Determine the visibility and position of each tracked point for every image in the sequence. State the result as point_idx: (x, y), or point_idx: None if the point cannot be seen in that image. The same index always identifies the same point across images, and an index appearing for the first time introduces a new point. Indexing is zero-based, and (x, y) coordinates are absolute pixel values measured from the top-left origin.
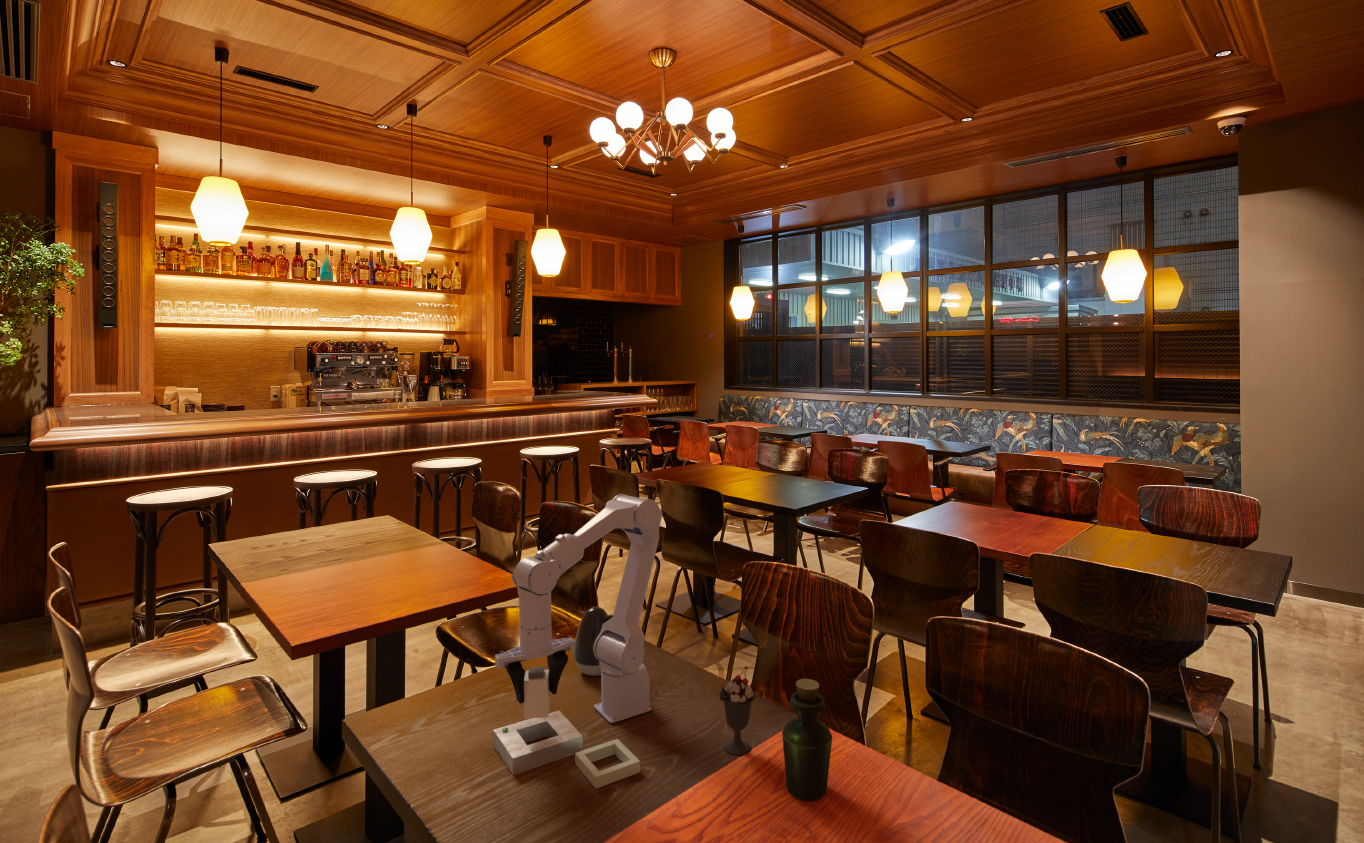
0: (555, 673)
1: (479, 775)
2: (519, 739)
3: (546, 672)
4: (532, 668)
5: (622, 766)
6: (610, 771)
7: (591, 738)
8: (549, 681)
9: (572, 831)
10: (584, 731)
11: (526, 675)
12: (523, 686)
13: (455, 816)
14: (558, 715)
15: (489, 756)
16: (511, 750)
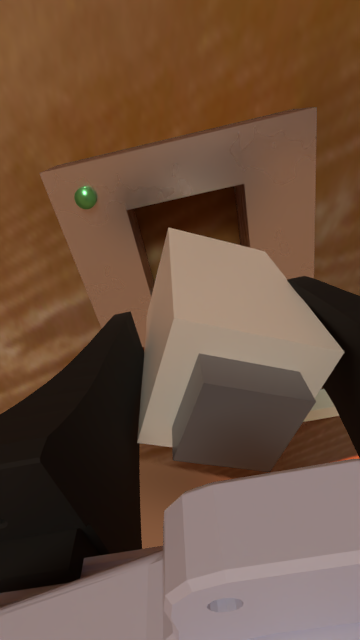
0: (348, 433)
1: (35, 304)
2: (134, 271)
3: (307, 385)
4: (218, 407)
5: (336, 414)
6: (307, 420)
7: (345, 239)
8: (308, 304)
9: (199, 470)
10: (348, 191)
11: (166, 386)
12: (137, 437)
13: (9, 406)
14: (297, 156)
15: (50, 227)
16: (108, 319)
